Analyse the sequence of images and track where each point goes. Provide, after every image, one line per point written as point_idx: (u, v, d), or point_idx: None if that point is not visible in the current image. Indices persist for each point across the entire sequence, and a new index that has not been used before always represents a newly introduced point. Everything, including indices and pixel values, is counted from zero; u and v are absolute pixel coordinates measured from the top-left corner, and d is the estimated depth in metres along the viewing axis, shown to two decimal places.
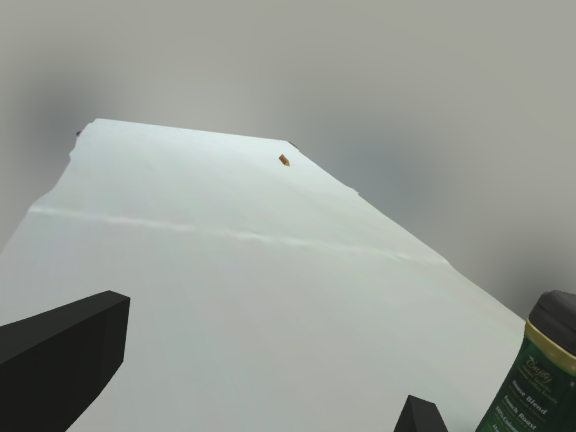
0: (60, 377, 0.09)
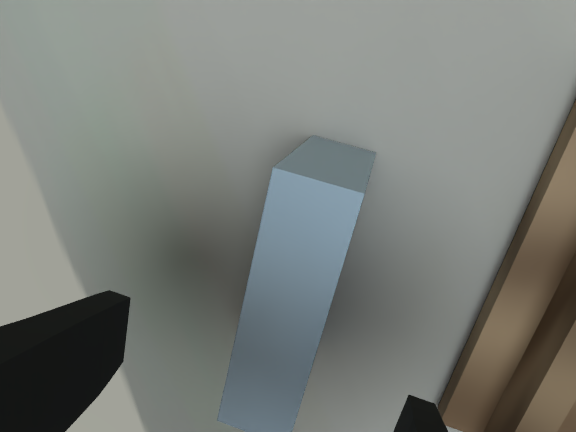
0: (60, 378, 0.09)
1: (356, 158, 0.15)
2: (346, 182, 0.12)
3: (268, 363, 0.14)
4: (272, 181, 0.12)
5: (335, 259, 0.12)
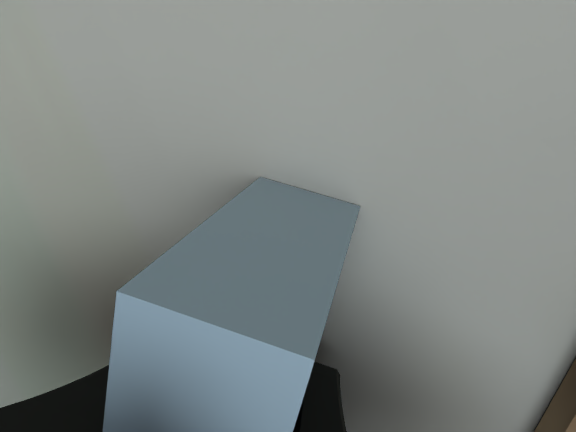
0: None
1: (322, 228, 0.09)
2: (280, 318, 0.06)
3: None
4: (118, 319, 0.06)
5: None
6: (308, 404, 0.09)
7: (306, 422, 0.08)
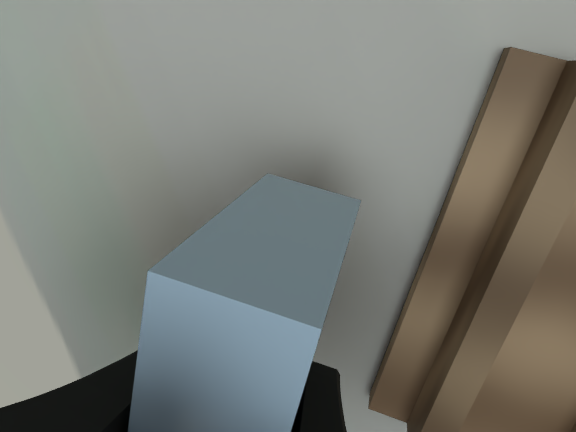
0: None
1: (326, 220, 0.10)
2: (290, 295, 0.06)
3: None
4: (149, 296, 0.06)
5: None
6: (308, 404, 0.09)
7: (306, 422, 0.08)
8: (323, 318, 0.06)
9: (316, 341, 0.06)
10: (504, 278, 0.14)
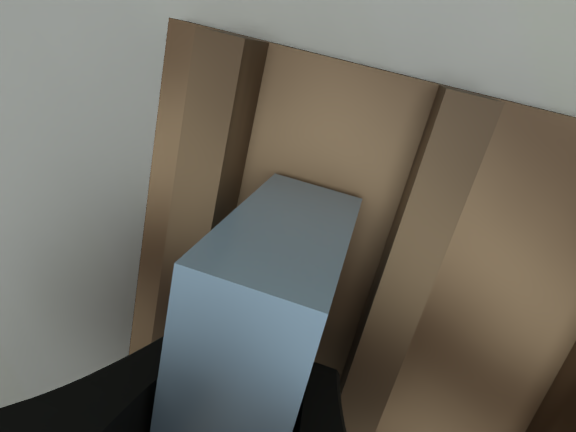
0: None
1: (330, 217, 0.10)
2: (299, 284, 0.07)
3: None
4: (175, 285, 0.07)
5: (283, 410, 0.07)
6: (308, 404, 0.09)
7: (306, 422, 0.08)
8: (329, 304, 0.07)
9: (323, 324, 0.07)
10: (171, 282, 0.13)
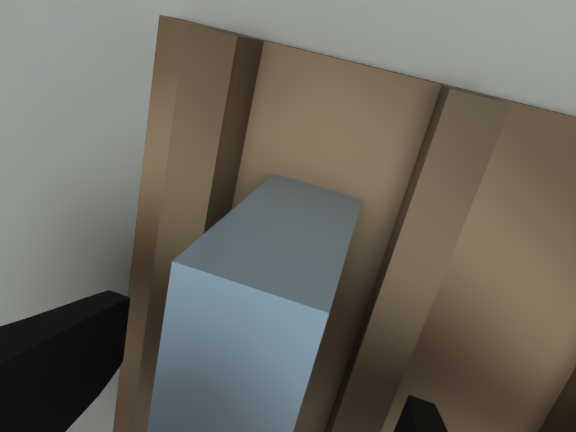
0: (60, 377, 0.09)
1: (330, 217, 0.10)
2: (300, 284, 0.07)
3: None
4: (172, 284, 0.07)
5: (283, 412, 0.07)
6: None
7: None
8: (330, 303, 0.07)
9: (324, 324, 0.07)
10: (162, 290, 0.12)
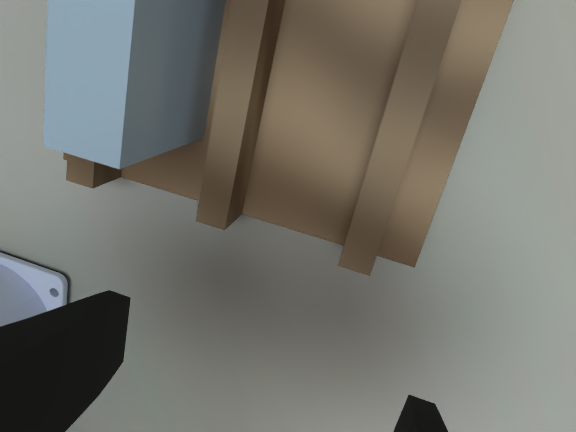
0: (60, 377, 0.09)
1: None
2: None
3: (85, 53, 0.12)
4: None
5: None
6: None
7: None
8: None
9: None
10: None
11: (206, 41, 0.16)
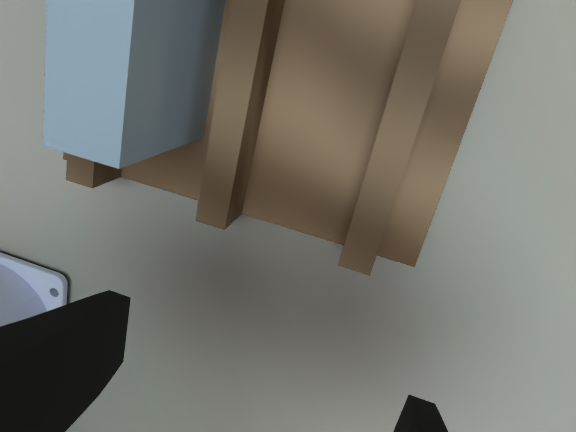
0: (60, 377, 0.09)
1: None
2: None
3: (84, 52, 0.12)
4: None
5: None
6: None
7: None
8: None
9: None
10: None
11: (206, 41, 0.16)
